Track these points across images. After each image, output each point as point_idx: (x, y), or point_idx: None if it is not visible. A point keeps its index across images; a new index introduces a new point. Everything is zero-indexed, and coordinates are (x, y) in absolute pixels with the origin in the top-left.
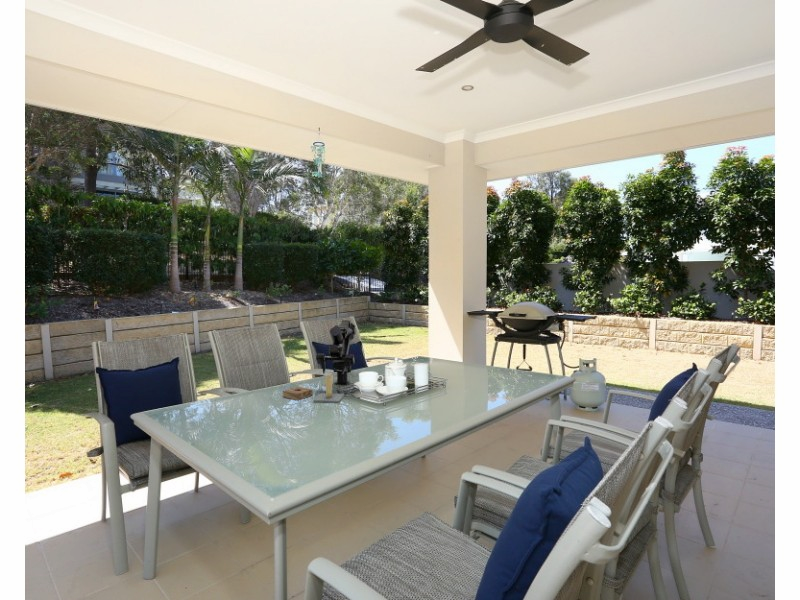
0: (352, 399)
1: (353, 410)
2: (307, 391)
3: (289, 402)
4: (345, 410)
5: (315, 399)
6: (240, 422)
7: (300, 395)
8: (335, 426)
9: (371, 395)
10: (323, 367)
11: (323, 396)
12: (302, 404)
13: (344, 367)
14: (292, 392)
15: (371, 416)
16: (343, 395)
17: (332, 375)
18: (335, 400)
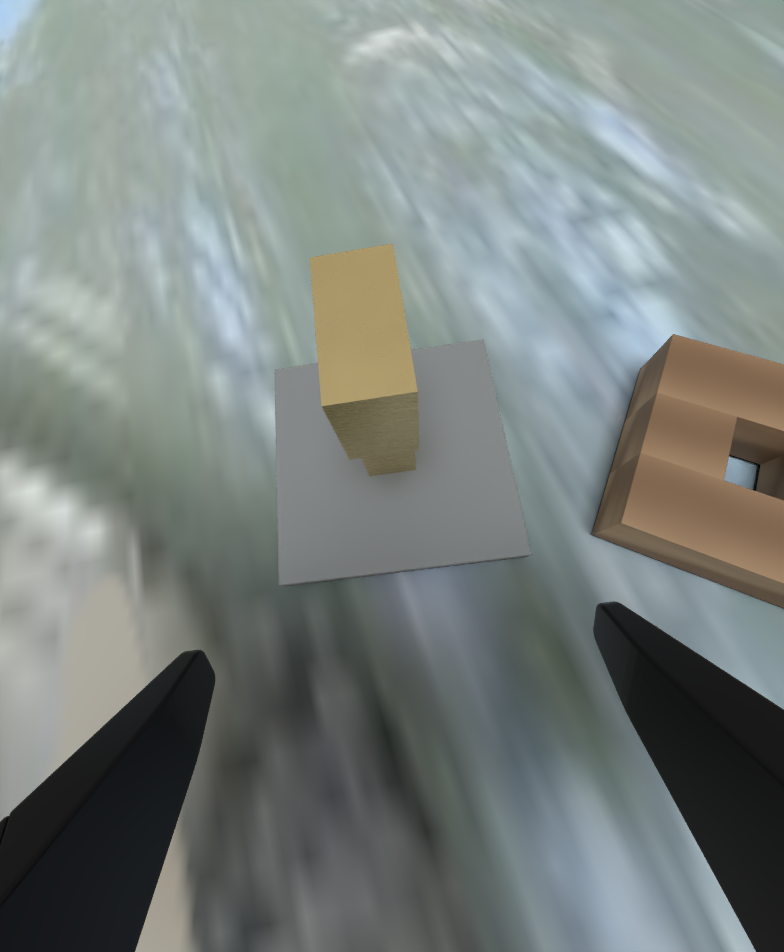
0: (198, 504)
1: (160, 276)
2: (639, 451)
3: (673, 321)
4: (209, 265)
5: (478, 361)
6: (691, 7)
7: (651, 378)
8: (217, 80)
9: (35, 671)
10: (732, 707)
11: (448, 454)
12: (544, 303)
13: (38, 791)
14: (760, 367)
15: (53, 217)
16: (279, 540)
17: (319, 380)
18: (306, 371)
